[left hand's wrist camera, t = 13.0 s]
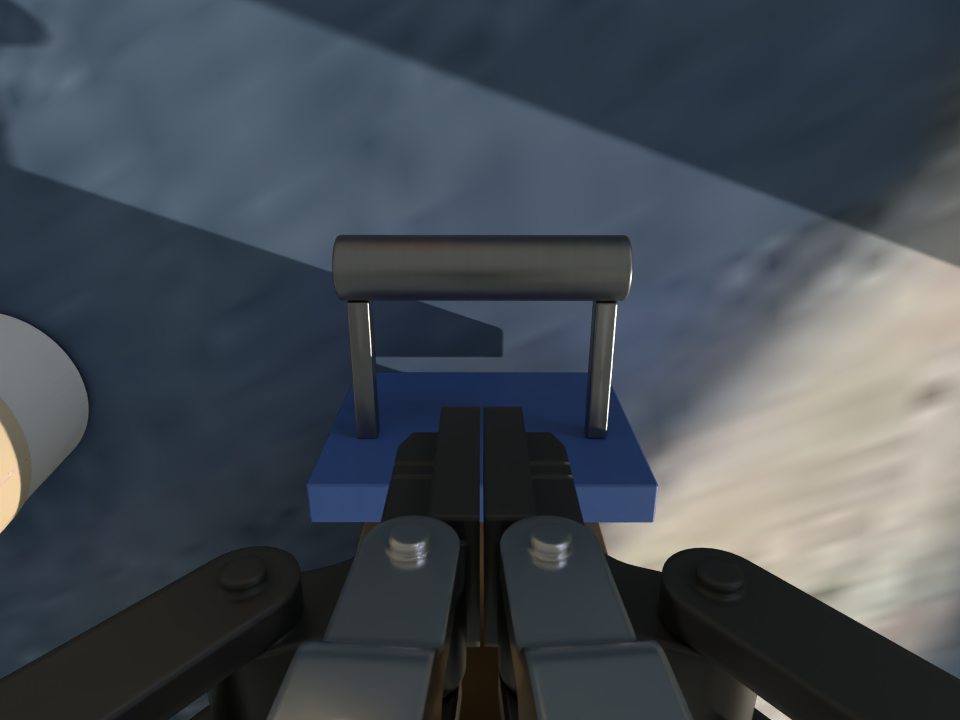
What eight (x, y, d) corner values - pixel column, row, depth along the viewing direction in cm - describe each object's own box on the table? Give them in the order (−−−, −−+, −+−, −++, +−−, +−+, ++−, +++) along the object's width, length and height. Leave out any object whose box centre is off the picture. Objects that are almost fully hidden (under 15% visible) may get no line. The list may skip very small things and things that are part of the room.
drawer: (344, 207, 22) (278, 258, 15) (619, 207, 22) (686, 259, 15) (383, 738, 31) (355, 928, 24) (577, 738, 31) (606, 928, 24)
